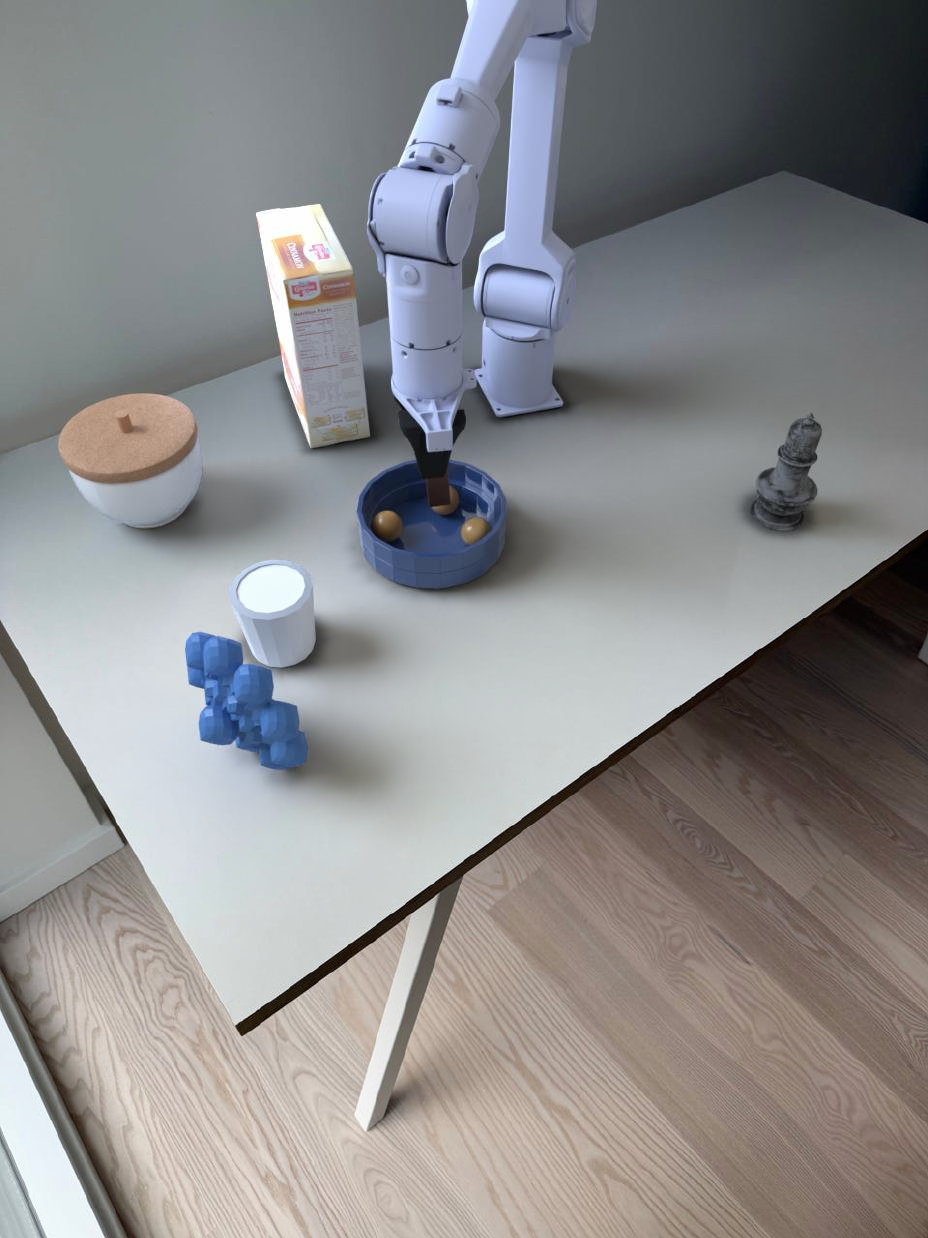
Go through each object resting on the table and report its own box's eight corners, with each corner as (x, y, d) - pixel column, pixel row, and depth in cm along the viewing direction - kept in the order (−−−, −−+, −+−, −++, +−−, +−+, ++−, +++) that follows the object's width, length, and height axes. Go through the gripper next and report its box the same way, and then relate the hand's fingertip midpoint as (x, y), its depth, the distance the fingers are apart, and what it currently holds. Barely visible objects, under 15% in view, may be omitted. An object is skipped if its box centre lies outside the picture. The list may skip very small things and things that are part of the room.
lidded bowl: (238, 480, 93) (215, 389, 85) (173, 560, 85) (142, 468, 77) (133, 455, 96) (102, 365, 88) (62, 530, 88) (20, 439, 80)
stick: (426, 493, 84) (418, 405, 77) (447, 491, 84) (441, 402, 77) (429, 507, 83) (421, 418, 75) (450, 504, 83) (444, 416, 75)
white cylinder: (246, 616, 80) (231, 560, 75) (323, 611, 81) (313, 555, 76) (240, 676, 76) (224, 621, 71) (321, 670, 76) (311, 616, 71)
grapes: (169, 743, 71) (126, 647, 62) (233, 690, 75) (201, 592, 66) (268, 825, 66) (237, 734, 57) (332, 765, 70) (312, 670, 61)
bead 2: (429, 505, 90) (439, 478, 89) (456, 517, 90) (466, 489, 89) (421, 510, 87) (431, 481, 86) (449, 522, 87) (459, 493, 86)
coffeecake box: (283, 376, 106) (253, 210, 91) (341, 365, 107) (322, 201, 93) (308, 450, 96) (280, 278, 82) (372, 437, 98) (355, 267, 83)
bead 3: (454, 521, 86) (480, 529, 87) (455, 548, 85) (480, 556, 86) (472, 507, 84) (498, 516, 85) (472, 535, 82) (499, 543, 84)
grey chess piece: (808, 536, 87) (848, 436, 78) (747, 529, 88) (779, 428, 79) (805, 498, 91) (842, 398, 82) (746, 491, 92) (777, 391, 83)
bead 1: (388, 526, 88) (365, 513, 86) (409, 514, 86) (387, 500, 84) (387, 551, 86) (364, 538, 85) (409, 539, 85) (385, 526, 83)
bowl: (348, 507, 90) (343, 472, 87) (480, 482, 93) (481, 447, 89) (378, 605, 81) (374, 570, 78) (524, 574, 84) (526, 539, 80)
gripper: (492, 377, 66) (488, 515, 76) (462, 281, 76) (462, 415, 86) (397, 386, 65) (406, 523, 75) (379, 288, 75) (389, 422, 85)
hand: (431, 466), depth 81 cm, fingers closed on stick, 2 cm apart
